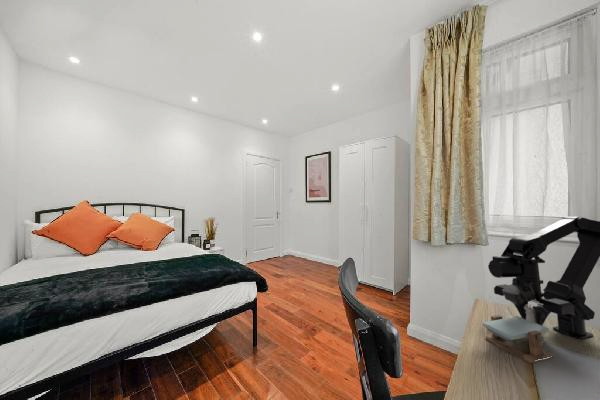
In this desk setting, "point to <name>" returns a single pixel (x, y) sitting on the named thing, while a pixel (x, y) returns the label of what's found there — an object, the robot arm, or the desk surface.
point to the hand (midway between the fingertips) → (532, 324)
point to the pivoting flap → (513, 327)
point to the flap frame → (534, 344)
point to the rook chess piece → (530, 313)
